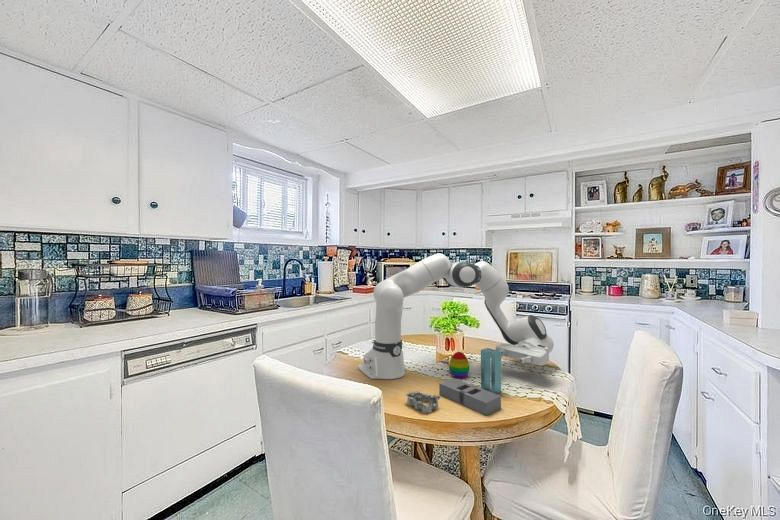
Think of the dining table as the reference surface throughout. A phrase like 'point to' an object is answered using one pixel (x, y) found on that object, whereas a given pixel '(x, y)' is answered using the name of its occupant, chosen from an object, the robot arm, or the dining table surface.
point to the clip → (491, 370)
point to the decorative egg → (459, 365)
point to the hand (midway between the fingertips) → (509, 357)
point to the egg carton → (417, 400)
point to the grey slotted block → (470, 396)
